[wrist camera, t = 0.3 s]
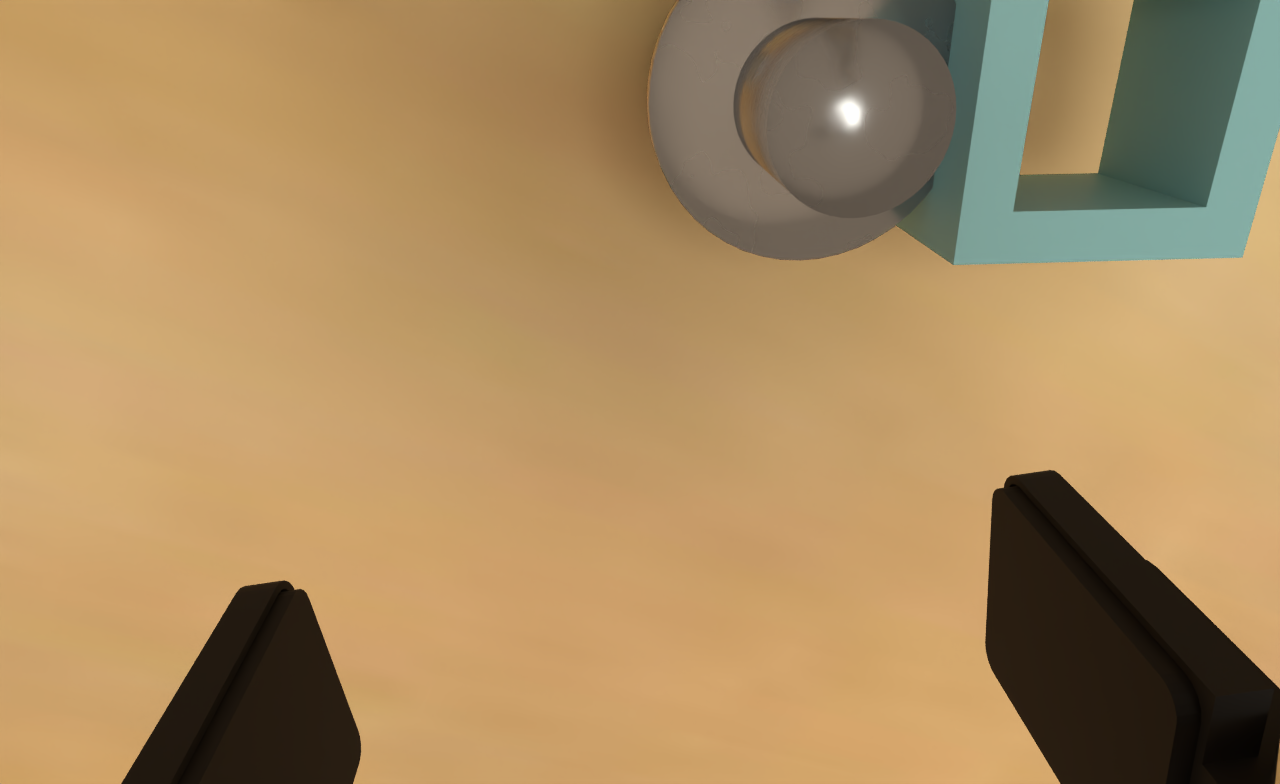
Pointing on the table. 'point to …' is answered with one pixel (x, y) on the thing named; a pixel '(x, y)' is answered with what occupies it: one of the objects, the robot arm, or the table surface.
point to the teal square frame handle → (1110, 139)
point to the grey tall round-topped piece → (802, 117)
